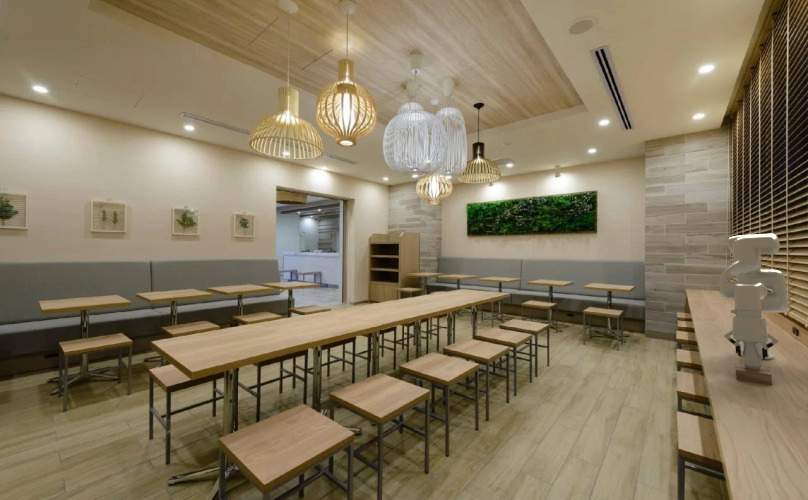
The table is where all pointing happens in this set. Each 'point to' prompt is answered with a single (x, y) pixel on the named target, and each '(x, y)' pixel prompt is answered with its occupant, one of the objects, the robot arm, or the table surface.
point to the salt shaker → (751, 356)
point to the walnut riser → (753, 374)
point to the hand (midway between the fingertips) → (751, 356)
